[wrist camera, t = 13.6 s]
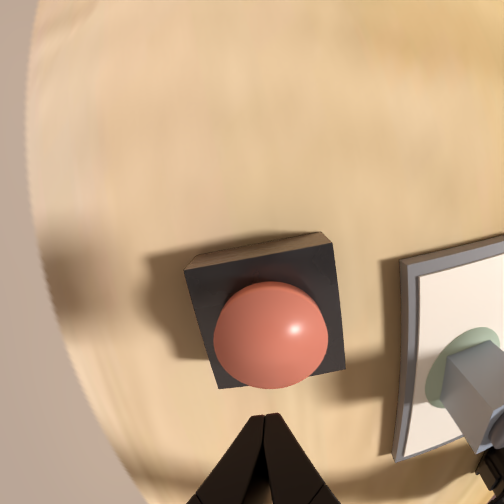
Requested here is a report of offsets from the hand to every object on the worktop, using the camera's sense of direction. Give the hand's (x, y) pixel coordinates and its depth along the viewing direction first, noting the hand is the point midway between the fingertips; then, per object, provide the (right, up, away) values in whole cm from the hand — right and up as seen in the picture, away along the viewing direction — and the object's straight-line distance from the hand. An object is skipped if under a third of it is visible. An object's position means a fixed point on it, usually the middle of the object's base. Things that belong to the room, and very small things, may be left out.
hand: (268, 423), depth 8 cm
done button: (+1, +2, +9) cm, 9 cm away
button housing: (+1, +2, +10) cm, 10 cm away
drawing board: (+15, -3, +10) cm, 18 cm away
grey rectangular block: (+15, -3, +9) cm, 18 cm away
